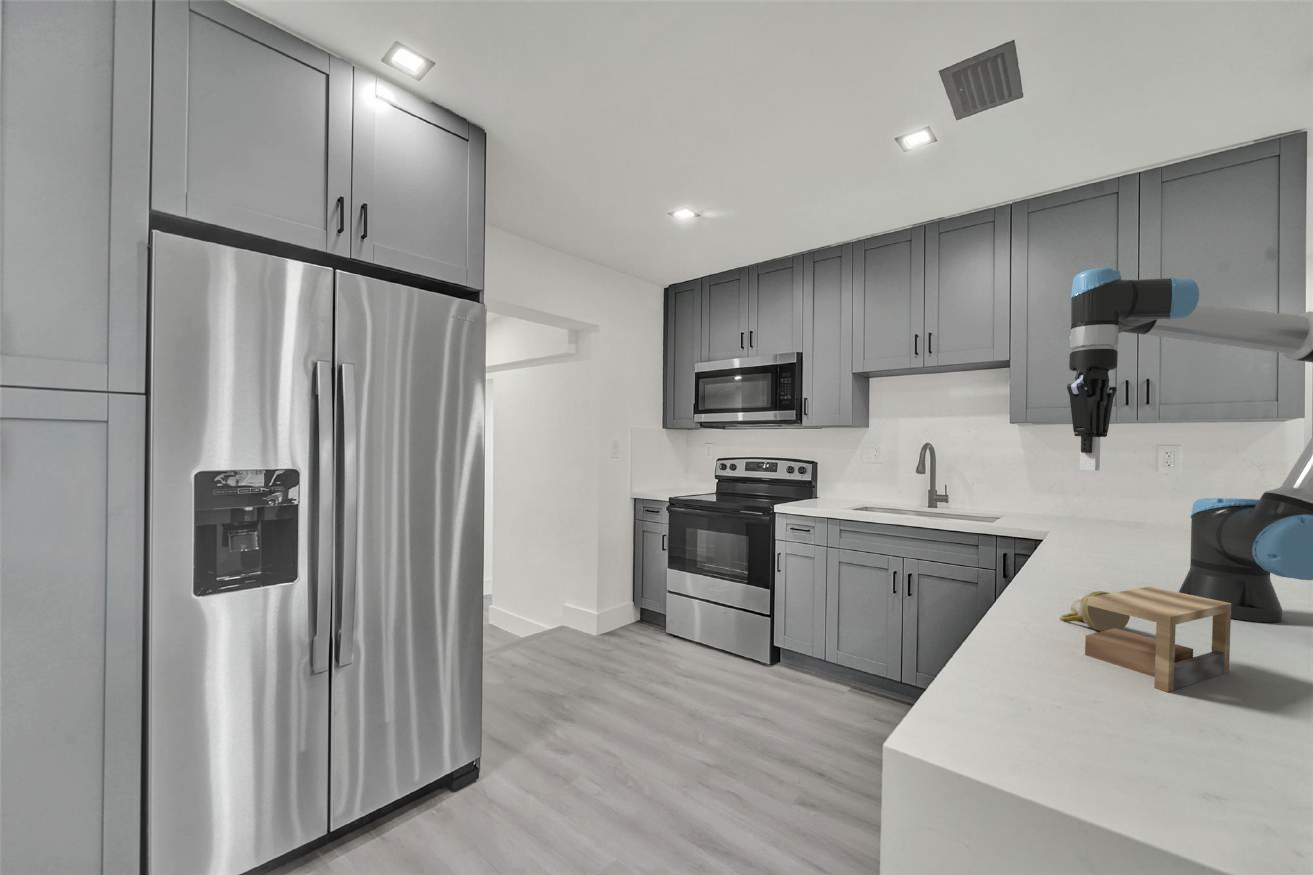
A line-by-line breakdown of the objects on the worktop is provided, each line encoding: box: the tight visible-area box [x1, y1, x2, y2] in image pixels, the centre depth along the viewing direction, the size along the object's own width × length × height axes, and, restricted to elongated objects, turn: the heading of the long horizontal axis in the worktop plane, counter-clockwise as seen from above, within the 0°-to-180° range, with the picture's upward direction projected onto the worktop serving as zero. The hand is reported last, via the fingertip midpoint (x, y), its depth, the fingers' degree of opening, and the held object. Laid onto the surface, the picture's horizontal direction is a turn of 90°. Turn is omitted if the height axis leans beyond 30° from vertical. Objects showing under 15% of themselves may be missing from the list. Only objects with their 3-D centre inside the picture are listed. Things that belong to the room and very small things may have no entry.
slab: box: [1084, 628, 1194, 678], centre depth 88 cm, size 9×10×4 cm
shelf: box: [1088, 586, 1232, 693], centre depth 86 cm, size 18×10×10 cm, turn 116°
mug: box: [1059, 590, 1131, 632], centre depth 105 cm, size 8×10×10 cm
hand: (1089, 469), depth 112 cm, fingers closed
